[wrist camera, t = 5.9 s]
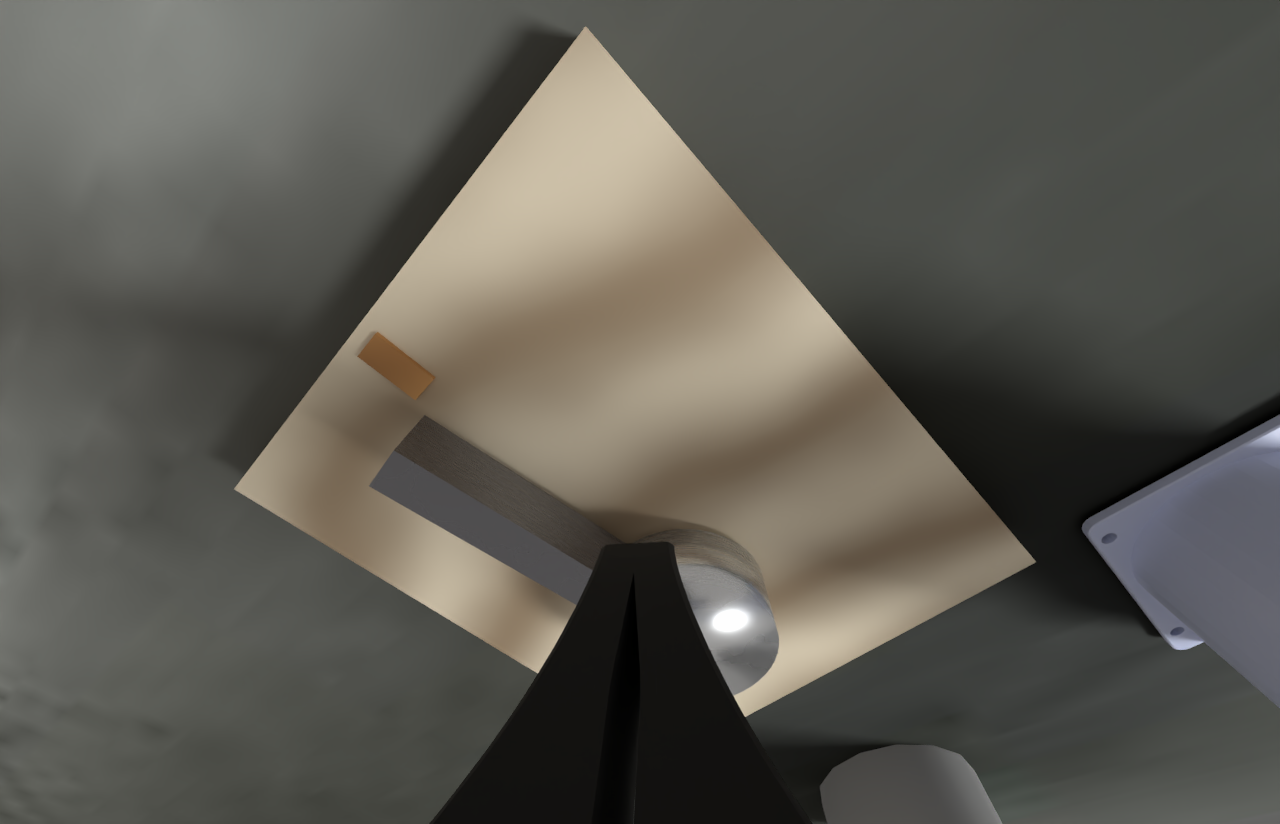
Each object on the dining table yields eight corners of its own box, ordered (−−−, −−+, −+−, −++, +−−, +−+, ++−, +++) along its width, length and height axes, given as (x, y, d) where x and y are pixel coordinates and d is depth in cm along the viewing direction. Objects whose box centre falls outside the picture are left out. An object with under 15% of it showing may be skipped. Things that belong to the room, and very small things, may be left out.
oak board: (1009, 533, 19) (1088, 616, 16) (671, 723, 25) (675, 813, 22) (592, 40, 12) (570, -6, 9) (264, 464, 18) (174, 537, 15)
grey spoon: (798, 585, 18) (818, 642, 16) (688, 665, 20) (692, 725, 18) (467, 355, 14) (435, 390, 12) (375, 485, 16) (334, 534, 14)
